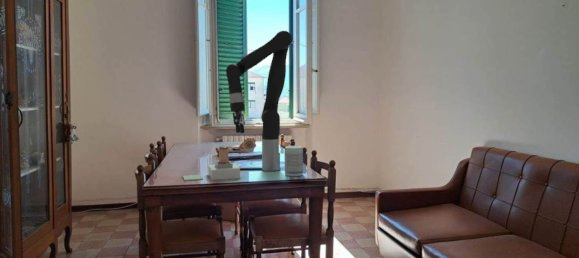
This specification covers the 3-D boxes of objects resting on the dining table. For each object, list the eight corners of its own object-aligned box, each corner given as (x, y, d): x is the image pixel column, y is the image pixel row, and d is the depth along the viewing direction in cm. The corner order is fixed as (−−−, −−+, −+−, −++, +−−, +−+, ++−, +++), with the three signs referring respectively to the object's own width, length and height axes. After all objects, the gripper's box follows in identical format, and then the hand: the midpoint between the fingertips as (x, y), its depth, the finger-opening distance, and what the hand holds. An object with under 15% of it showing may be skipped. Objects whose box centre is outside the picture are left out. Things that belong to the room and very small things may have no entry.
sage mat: (201, 175, 216) (201, 174, 216) (203, 179, 208) (203, 178, 208) (182, 177, 214) (182, 175, 214) (184, 180, 205) (184, 179, 205)
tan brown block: (227, 165, 218) (227, 146, 217) (229, 167, 214) (228, 147, 213) (218, 166, 217) (218, 146, 216) (220, 167, 212) (219, 147, 211)
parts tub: (238, 172, 225) (237, 159, 224) (243, 177, 212) (243, 164, 212) (208, 174, 220) (208, 161, 219) (211, 179, 207) (211, 165, 207)
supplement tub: (306, 175, 218) (306, 147, 217) (291, 177, 213) (291, 148, 211) (296, 172, 226) (296, 145, 225) (281, 174, 221) (281, 146, 219)
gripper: (240, 100, 216) (244, 131, 215) (246, 102, 230) (250, 132, 230) (226, 102, 217) (230, 133, 216) (233, 104, 231) (237, 133, 230)
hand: (240, 132), depth 223 cm, fingers open, 8 cm apart
